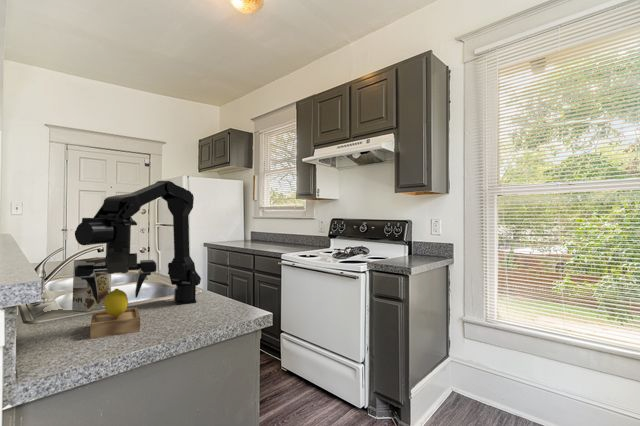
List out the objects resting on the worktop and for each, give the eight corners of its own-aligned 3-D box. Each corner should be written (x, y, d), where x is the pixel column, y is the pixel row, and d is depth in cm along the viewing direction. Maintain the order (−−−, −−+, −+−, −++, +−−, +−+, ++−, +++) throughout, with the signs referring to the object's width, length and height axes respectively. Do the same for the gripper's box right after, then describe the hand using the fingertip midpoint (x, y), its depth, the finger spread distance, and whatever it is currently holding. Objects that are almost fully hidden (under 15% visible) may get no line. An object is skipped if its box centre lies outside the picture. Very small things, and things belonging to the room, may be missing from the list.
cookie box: (88, 312, 105) (89, 261, 105) (71, 310, 106) (72, 259, 106) (111, 304, 114) (112, 257, 114) (95, 303, 115) (96, 256, 115)
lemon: (115, 314, 95) (116, 286, 95) (132, 315, 93) (132, 287, 94) (99, 320, 89) (99, 290, 89) (116, 321, 88) (117, 291, 88)
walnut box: (137, 322, 99) (137, 307, 99) (139, 333, 90) (140, 317, 90) (92, 327, 93) (92, 312, 93) (90, 341, 84) (90, 324, 84)
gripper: (72, 246, 80) (71, 311, 80) (159, 244, 89) (157, 302, 89) (77, 242, 89) (76, 300, 89) (155, 240, 99) (153, 293, 99)
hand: (117, 299), depth 91 cm, fingers open, 9 cm apart
